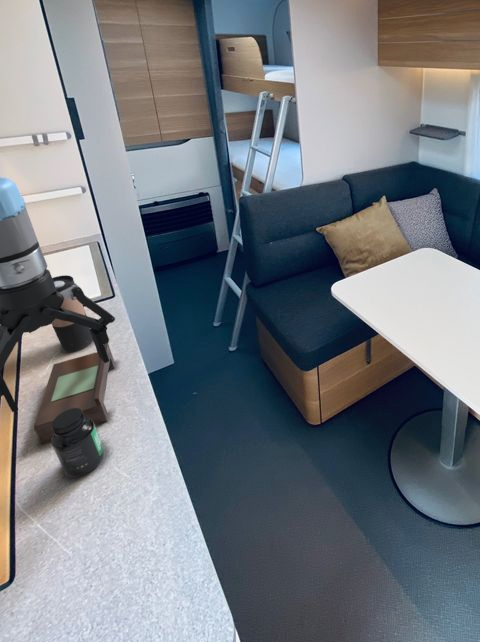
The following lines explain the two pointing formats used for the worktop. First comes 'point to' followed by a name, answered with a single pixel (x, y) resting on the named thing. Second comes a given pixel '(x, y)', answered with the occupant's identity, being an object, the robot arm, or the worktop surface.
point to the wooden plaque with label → (74, 391)
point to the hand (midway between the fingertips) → (62, 381)
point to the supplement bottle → (76, 442)
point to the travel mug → (68, 332)
